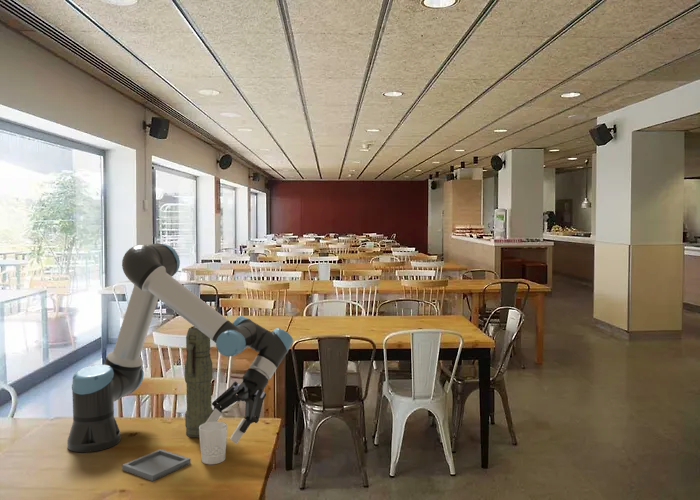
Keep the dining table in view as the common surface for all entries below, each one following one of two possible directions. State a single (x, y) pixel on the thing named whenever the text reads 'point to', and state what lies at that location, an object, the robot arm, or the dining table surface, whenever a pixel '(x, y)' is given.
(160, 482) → the dining table surface
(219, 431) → the white cup
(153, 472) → the charcoal tray
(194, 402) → the thermos
